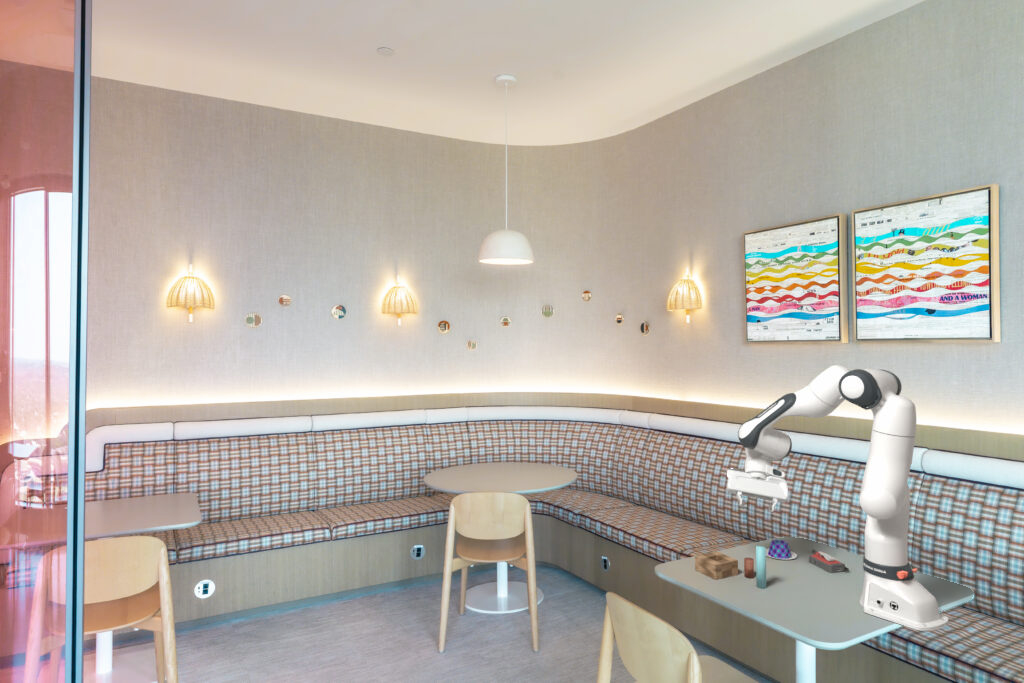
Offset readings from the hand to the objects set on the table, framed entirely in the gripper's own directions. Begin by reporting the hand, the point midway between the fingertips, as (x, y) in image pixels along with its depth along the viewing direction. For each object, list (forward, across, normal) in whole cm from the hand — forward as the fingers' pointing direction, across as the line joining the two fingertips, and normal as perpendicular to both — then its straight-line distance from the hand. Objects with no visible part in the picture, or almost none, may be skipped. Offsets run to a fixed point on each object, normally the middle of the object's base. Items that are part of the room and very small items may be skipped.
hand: (756, 508), depth 210 cm
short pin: (+19, +1, +12) cm, 23 cm away
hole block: (+20, -10, +15) cm, 26 cm away
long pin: (+24, +3, +6) cm, 25 cm away
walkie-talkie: (+5, +28, +25) cm, 37 cm away
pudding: (+3, +14, +30) cm, 34 cm away
